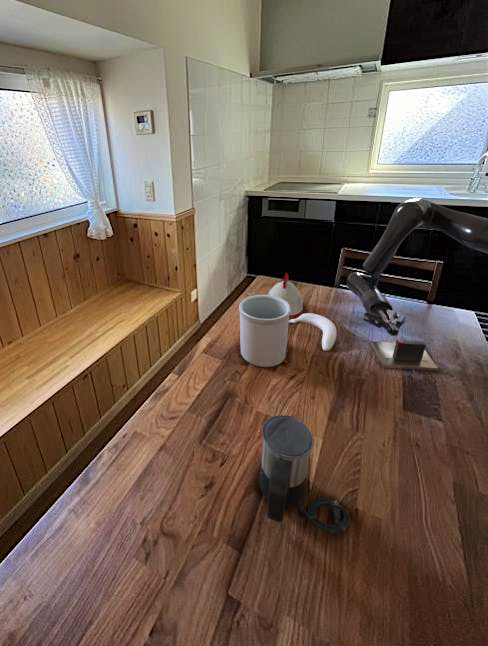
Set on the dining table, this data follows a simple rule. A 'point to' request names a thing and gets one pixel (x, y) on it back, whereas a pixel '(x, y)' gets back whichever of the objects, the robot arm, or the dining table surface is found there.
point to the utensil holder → (264, 329)
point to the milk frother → (292, 473)
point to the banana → (323, 324)
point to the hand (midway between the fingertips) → (394, 333)
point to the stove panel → (386, 358)
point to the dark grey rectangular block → (409, 350)
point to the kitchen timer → (289, 296)
